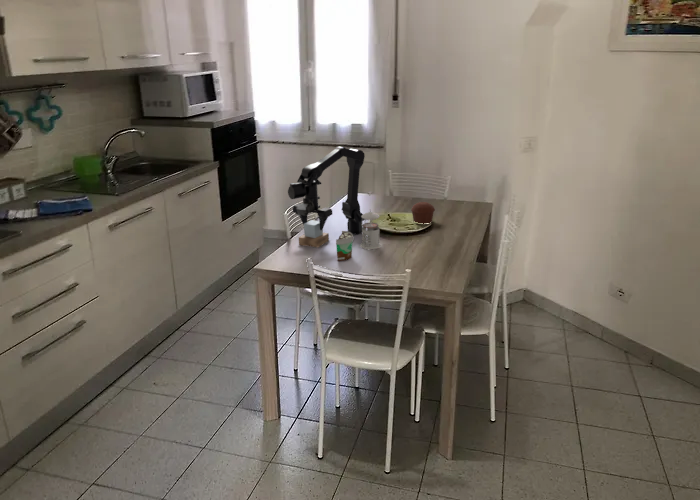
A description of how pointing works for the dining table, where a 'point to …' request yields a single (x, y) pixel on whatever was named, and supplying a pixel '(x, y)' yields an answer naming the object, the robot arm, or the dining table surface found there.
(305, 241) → the walnut block
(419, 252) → the dining table surface
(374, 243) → the french press
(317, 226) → the slate cube
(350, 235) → the food container
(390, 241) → the dining table surface
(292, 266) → the dining table surface
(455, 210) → the dining table surface
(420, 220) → the muffin
